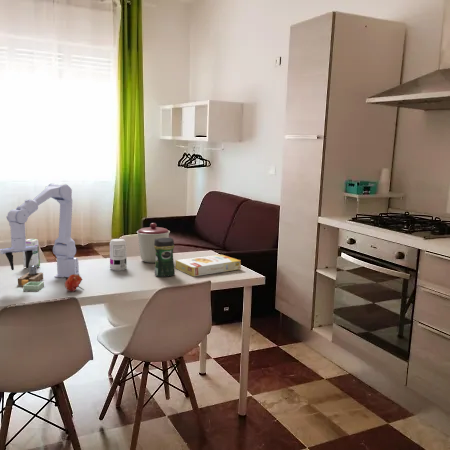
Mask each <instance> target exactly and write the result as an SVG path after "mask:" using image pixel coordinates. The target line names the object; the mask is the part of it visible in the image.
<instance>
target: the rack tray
mask: <svg viewBox="0 0 450 450" xmlns="http://www.w3.org/2000/svg"><path fill="white" fill-rule="evenodd" d="M42 288H45V282H44V281H40V282H28V283H27V284H25V285H24V286H22V289H23V291H29V292H30V291H31V292H32V291H34V292H35V291H36V292H38V291H40V290H42Z"/></svg>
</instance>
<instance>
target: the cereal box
mask: <svg viewBox="0 0 450 450" xmlns="http://www.w3.org/2000/svg"><path fill="white" fill-rule="evenodd" d="M174 264H175V269H177V270H178V271H181V272H183V273H185V274H187V275H189V276H191V277H193V278H194V277H200V276H205V275H212V274H219V273H225V272H231V271H239V270H241V268H242V267H241V265H242V262H241V259H237V258H235V257H230V256H228V255H224V254H215V255H206V256H200V257H190V258H182V259H175V261H174Z"/></svg>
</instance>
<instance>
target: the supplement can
mask: <svg viewBox="0 0 450 450" xmlns="http://www.w3.org/2000/svg"><path fill="white" fill-rule="evenodd" d="M127 261H128V260H127V241H126V240H125V239H124V238H113V239H110V242H109V268H110V269H111V271H124V270H126V269H127V265H128V264H127Z"/></svg>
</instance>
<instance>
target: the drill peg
mask: <svg viewBox="0 0 450 450" xmlns="http://www.w3.org/2000/svg"><path fill="white" fill-rule="evenodd" d="M28 273H29V276H36V275H37V273H38V272H37V268H36V265H30V266H29V269H28Z"/></svg>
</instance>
